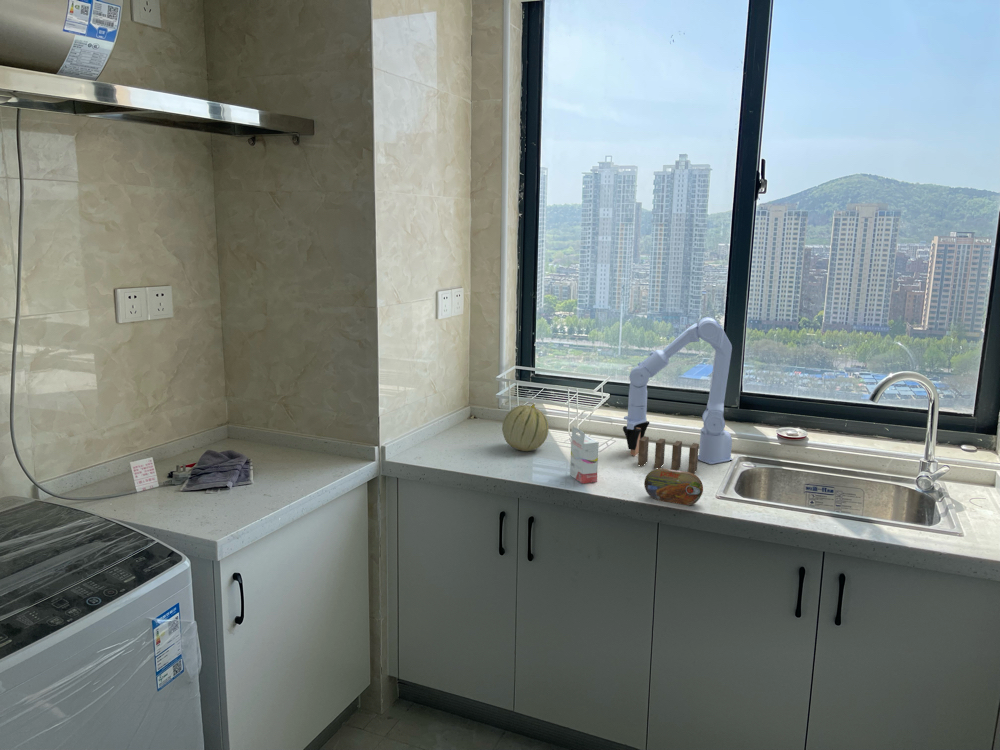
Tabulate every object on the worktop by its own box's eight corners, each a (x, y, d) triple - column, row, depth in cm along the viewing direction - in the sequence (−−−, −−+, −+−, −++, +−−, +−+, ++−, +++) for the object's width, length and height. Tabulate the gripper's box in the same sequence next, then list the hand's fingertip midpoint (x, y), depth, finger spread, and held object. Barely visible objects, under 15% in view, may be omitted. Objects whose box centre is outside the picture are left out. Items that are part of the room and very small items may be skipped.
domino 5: (697, 469, 218) (698, 443, 217) (693, 474, 214) (695, 448, 213) (691, 468, 219) (693, 443, 218) (687, 473, 215) (689, 447, 213)
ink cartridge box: (598, 482, 206) (600, 431, 203) (582, 484, 204) (584, 433, 201) (584, 473, 214) (586, 424, 211) (568, 474, 212) (570, 425, 209)
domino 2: (647, 462, 225) (648, 436, 223) (643, 466, 221) (644, 440, 219) (642, 461, 226) (643, 436, 224) (637, 465, 221) (639, 440, 220)
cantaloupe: (492, 450, 235) (493, 404, 232) (521, 440, 245) (522, 397, 242) (528, 460, 225) (529, 412, 222) (557, 450, 236) (558, 404, 233)
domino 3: (663, 464, 223) (665, 439, 221) (659, 469, 218) (661, 443, 217) (658, 463, 224) (660, 438, 222) (654, 468, 219) (655, 442, 218)
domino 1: (639, 452, 235) (640, 427, 234) (635, 456, 231) (636, 431, 229) (634, 451, 236) (635, 427, 234) (630, 455, 231) (631, 430, 230)
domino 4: (680, 467, 221) (682, 441, 219) (676, 471, 216) (678, 445, 215) (675, 466, 221) (676, 440, 220) (671, 470, 217) (672, 444, 215)
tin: (643, 497, 195) (644, 467, 193) (646, 494, 198) (648, 464, 196) (700, 508, 188) (702, 476, 186) (703, 504, 191) (705, 473, 189)
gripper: (631, 398, 238) (629, 438, 241) (618, 407, 225) (616, 450, 228) (653, 401, 235) (650, 441, 238) (640, 410, 222) (638, 453, 225)
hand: (635, 446), depth 233 cm, fingers open, 7 cm apart
